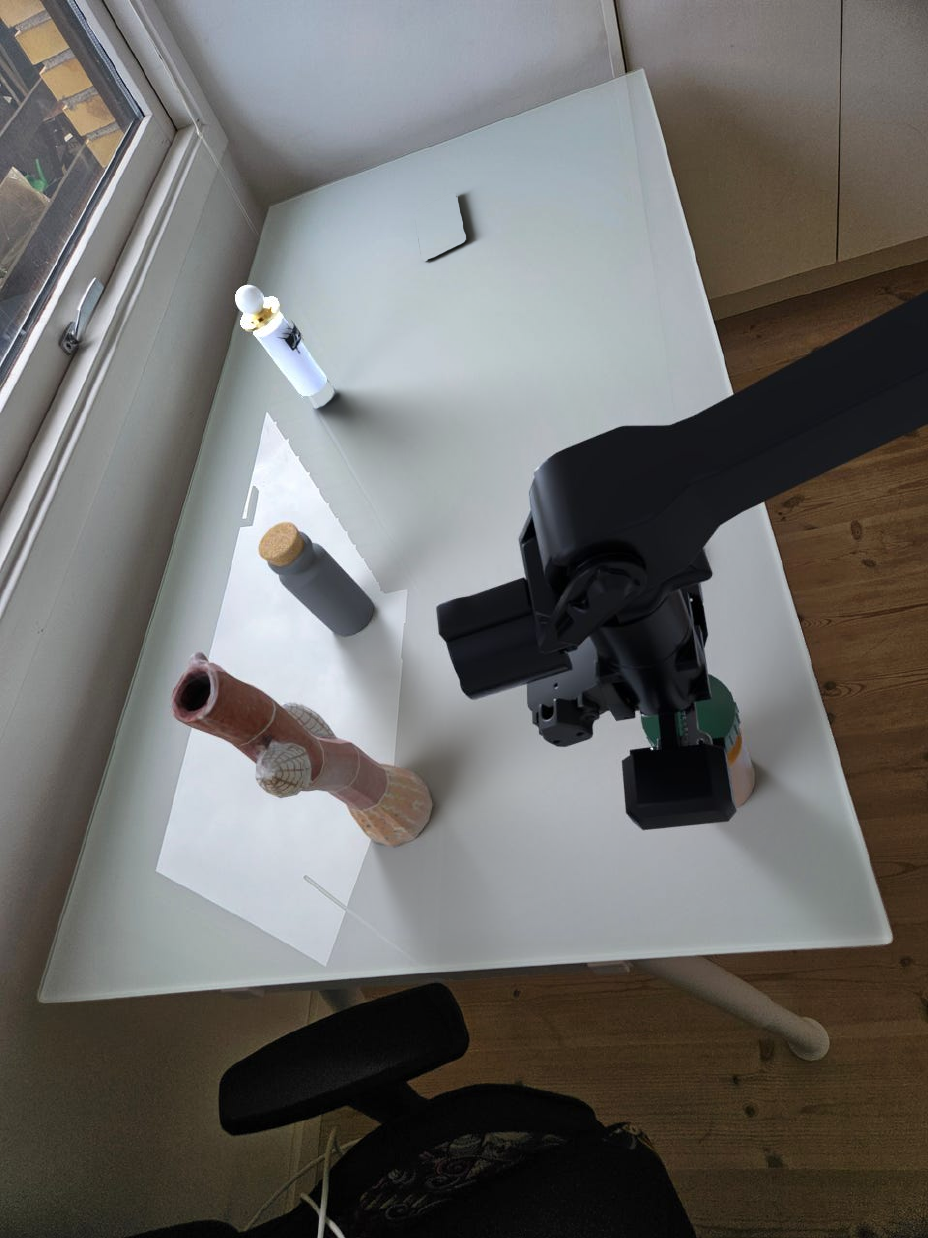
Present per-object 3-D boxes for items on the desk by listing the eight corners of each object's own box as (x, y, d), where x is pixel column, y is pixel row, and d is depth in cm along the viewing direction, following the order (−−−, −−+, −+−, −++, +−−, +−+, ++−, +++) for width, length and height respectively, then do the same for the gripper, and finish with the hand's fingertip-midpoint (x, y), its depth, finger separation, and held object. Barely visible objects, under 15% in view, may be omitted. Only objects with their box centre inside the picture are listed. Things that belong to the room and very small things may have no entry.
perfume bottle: (304, 419, 118) (218, 310, 103) (310, 392, 121) (227, 281, 106) (338, 409, 116) (255, 295, 101) (343, 381, 119) (264, 267, 104)
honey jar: (771, 775, 66) (756, 725, 58) (720, 828, 65) (698, 784, 58) (714, 730, 70) (693, 678, 62) (665, 780, 69) (638, 733, 61)
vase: (365, 777, 82) (161, 630, 59) (431, 760, 79) (246, 600, 56) (365, 882, 75) (138, 763, 53) (437, 867, 73) (232, 736, 50)
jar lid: (643, 690, 61) (635, 677, 59) (733, 676, 59) (728, 662, 57) (651, 773, 58) (643, 762, 56) (747, 762, 55) (743, 750, 53)
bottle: (321, 618, 96) (244, 545, 84) (358, 585, 96) (286, 508, 85) (344, 646, 92) (267, 573, 80) (382, 611, 92) (311, 534, 81)
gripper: (509, 531, 55) (576, 643, 67) (509, 794, 45) (588, 870, 57) (674, 491, 51) (714, 617, 63) (715, 769, 41) (753, 856, 53)
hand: (688, 732), depth 59 cm, fingers closed on jar lid, 6 cm apart
